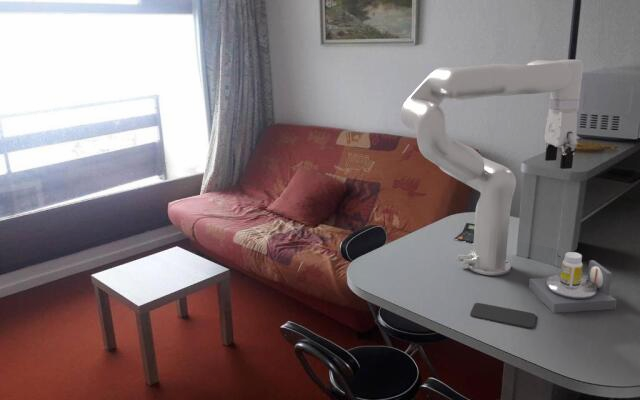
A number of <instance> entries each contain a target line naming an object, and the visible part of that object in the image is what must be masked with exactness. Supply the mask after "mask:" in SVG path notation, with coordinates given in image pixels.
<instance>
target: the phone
mask: <svg viewBox="0 0 640 400" xmlns="http://www.w3.org/2000/svg"><path fill="white" fill-rule="evenodd" d="M469 316H470V317H471V318H475V319H480V320H483V319H484V320H485V321H488V320H489V322H493V323H499V324H503V325H508V326H512V327H517V328H522V329H528V330H532V329H534V327H535V324H536V319H537V315H536V314H535V312H529V311H524V310H518V309H513V308H509V307H502V306H497V305H491V304H486V303H481V302H476V303H474V304H473V306H472V308H471V311H470V312H469ZM484 320H483V321H484Z"/></svg>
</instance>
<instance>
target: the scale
mask: <svg viewBox="0 0 640 400" xmlns="http://www.w3.org/2000/svg"><path fill="white" fill-rule="evenodd" d="M588 262H589V264H588V271H587V275H581V278H584V279H587V280H589V281H591V282H592V283H594V284H595V285H596V287H597V294H596V295H595V296H594V297H592V298H588V299H572V298H567V297H563V296H560V295H557V294H555V293H553V292H552V291H550V290H549V289H548V288H547V286H546V284H547V279H548V278H549V277H544V278H543V277H541V278H540V277H539V278H529V279H528V288H529V289H530V291H532V293H534V294H535V295H536V297H537V298H539V299H540V300H541V302H542V303H543V304H545V306H546V307H547V308H548V309H549V310H550V311H551V312H552V313H553V314H556V313H569V312H570V313H572V312H587V311H602V310H603V311H604V310H605V311H606V310H615V309H616V306H617V299H616V298H615V297H613V296H612V295H611V294H610V288H611V281H612V274H613V273H612V272H611V271H609V270H608V269H606V268H605V267H604V266H603V265H601V264H600V263H598V262H597V261H596V260H593V259H591V260H589V261H588Z"/></svg>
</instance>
